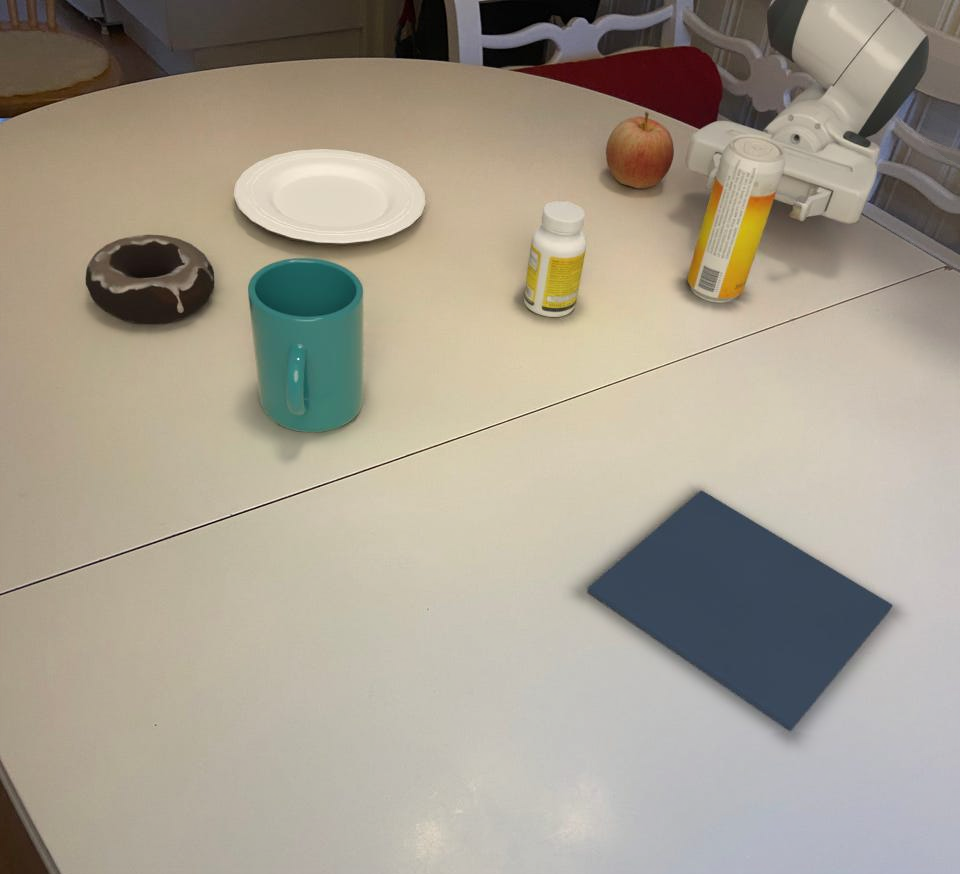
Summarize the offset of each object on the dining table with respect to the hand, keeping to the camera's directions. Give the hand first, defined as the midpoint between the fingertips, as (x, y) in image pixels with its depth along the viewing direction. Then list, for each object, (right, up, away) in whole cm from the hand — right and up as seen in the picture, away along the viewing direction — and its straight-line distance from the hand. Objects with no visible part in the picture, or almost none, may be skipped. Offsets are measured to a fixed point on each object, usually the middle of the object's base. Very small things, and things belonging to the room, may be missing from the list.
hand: (755, 197), depth 100 cm
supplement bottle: (-22, -12, -2) cm, 25 cm away
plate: (-45, +1, +6) cm, 46 cm away
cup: (-44, -27, -16) cm, 54 cm away
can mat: (-9, -43, -26) cm, 51 cm away
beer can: (-4, -9, +3) cm, 10 cm away
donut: (-60, -13, -7) cm, 62 cm away
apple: (-10, +9, +17) cm, 22 cm away
